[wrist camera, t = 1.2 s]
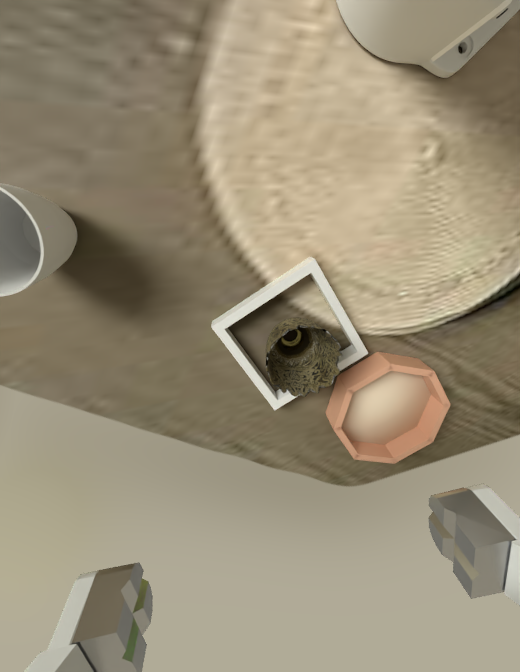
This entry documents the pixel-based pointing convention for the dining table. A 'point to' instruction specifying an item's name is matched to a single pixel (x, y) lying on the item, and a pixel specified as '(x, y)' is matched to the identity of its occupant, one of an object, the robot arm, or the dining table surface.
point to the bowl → (387, 407)
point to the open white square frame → (266, 294)
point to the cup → (31, 238)
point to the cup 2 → (302, 357)
